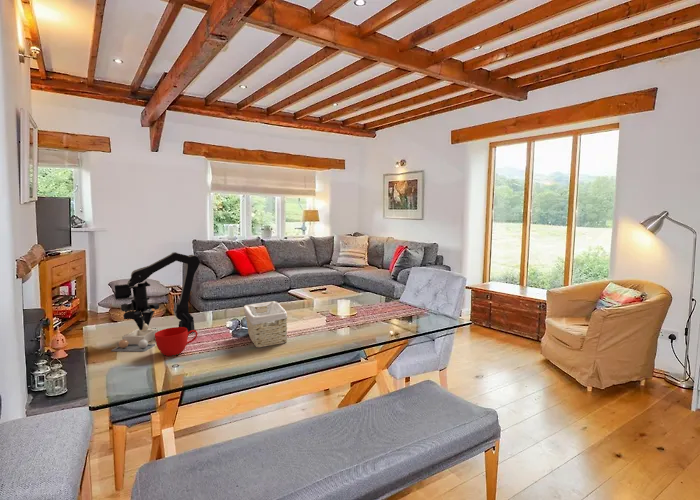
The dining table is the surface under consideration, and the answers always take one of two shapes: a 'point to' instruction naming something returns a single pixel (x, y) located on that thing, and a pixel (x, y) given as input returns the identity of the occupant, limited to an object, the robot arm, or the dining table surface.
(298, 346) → the dining table surface
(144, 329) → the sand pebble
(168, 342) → the ceramic cup
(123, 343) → the orange tan ball
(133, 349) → the slate tray
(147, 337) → the stoneware dish
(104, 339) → the dining table surface
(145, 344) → the glossy white ball
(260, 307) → the storage basket
